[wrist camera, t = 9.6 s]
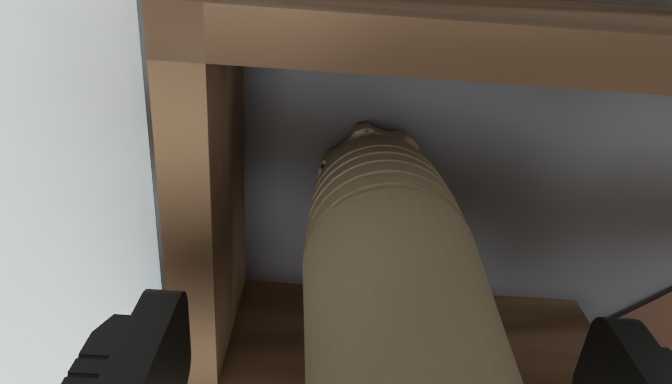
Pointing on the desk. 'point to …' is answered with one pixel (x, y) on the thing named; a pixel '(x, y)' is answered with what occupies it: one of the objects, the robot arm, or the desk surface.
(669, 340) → the gate
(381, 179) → the handle
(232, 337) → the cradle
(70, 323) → the desk surface
